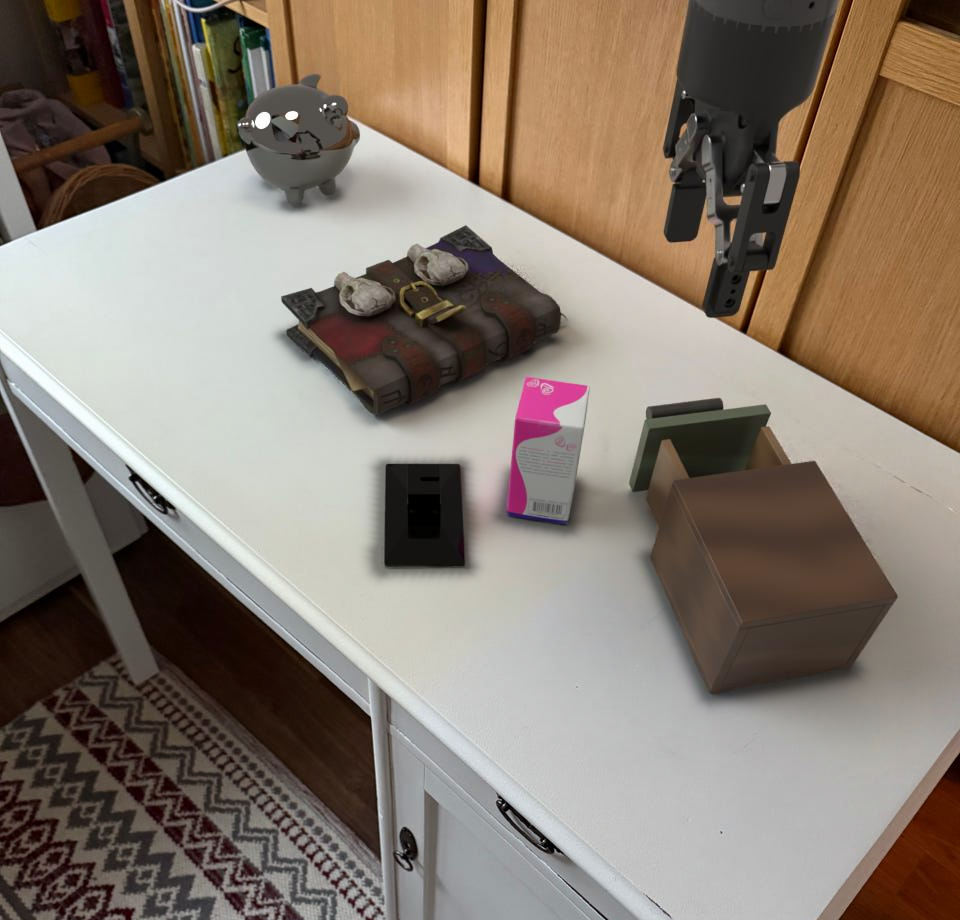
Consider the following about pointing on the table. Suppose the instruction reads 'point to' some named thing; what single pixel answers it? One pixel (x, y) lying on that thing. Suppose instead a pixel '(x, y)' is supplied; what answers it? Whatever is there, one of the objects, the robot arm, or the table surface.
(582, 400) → the supplement box
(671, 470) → the drawer
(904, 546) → the table surface
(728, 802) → the table surface
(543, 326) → the book
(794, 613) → the cabinet
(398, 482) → the black plastic holder
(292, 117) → the piggy bank
